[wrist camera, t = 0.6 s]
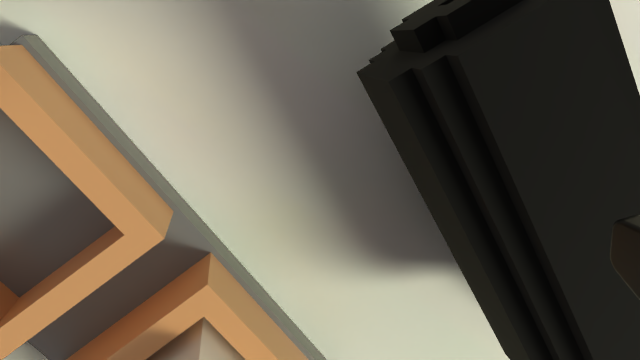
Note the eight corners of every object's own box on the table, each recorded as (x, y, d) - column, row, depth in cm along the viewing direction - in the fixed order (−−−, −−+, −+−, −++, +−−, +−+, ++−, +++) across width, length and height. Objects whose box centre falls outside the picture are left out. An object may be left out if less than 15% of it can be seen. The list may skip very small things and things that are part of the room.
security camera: (482, 341, 28) (611, 498, 18) (323, 49, 22) (393, 60, 12) (586, 277, 28) (769, 402, 18) (456, -31, 22) (628, -83, 12)
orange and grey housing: (331, 365, 27) (364, 475, 20) (199, 461, 27) (188, 601, 20) (37, 35, 20) (-62, 34, 13) (-137, 168, 20) (-319, 234, 13)
